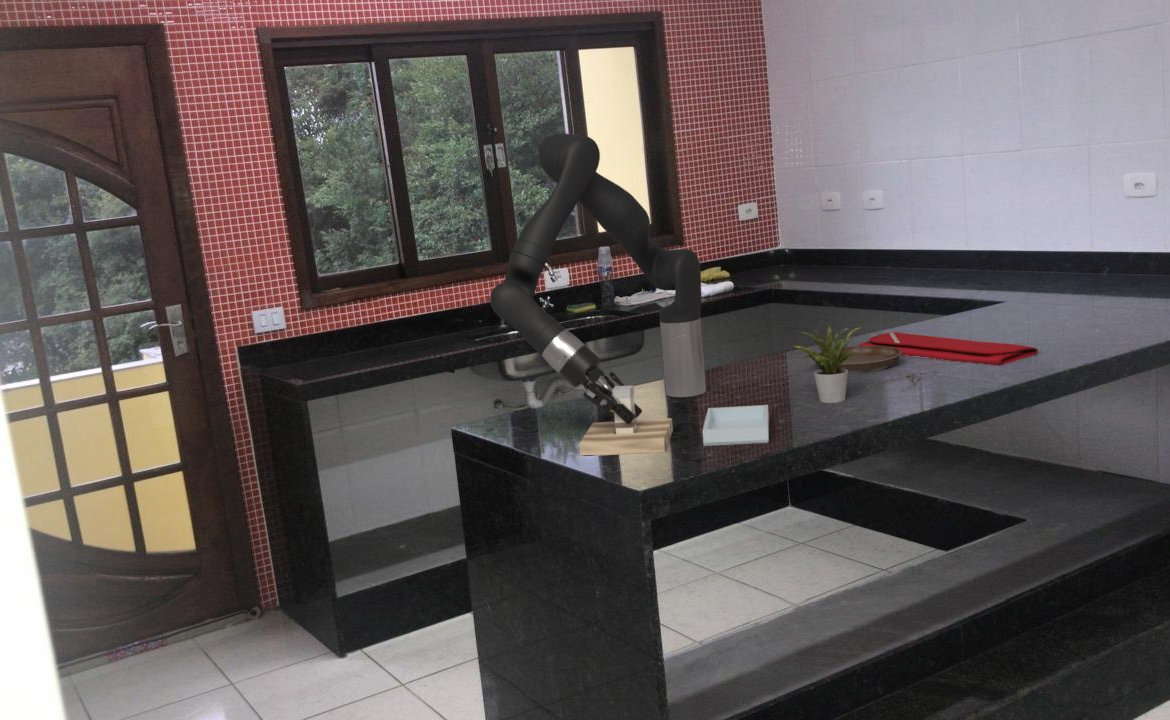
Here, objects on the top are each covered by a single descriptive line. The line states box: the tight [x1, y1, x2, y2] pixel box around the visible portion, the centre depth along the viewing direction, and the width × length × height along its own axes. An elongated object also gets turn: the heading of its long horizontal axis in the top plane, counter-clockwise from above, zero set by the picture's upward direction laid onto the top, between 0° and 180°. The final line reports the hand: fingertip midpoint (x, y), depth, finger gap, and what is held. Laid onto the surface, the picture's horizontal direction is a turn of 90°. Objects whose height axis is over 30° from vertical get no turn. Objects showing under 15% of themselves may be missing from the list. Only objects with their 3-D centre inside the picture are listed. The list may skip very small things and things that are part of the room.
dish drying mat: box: [858, 331, 1039, 366], centre depth 264 cm, size 16×41×4 cm, turn 36°
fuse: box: [612, 385, 637, 434], centre depth 207 cm, size 4×4×11 cm
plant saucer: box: [818, 345, 901, 374], centre depth 258 cm, size 21×21×3 cm
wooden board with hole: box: [578, 417, 674, 456], centre depth 207 cm, size 16×16×2 cm
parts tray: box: [702, 404, 770, 447], centre depth 207 cm, size 18×12×3 cm, turn 170°
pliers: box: [866, 370, 937, 391], centre depth 238 cm, size 10×1×20 cm
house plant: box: [793, 325, 863, 404], centre depth 226 cm, size 14×14×16 cm
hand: (635, 417), depth 206 cm, fingers closed on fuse, 3 cm apart
